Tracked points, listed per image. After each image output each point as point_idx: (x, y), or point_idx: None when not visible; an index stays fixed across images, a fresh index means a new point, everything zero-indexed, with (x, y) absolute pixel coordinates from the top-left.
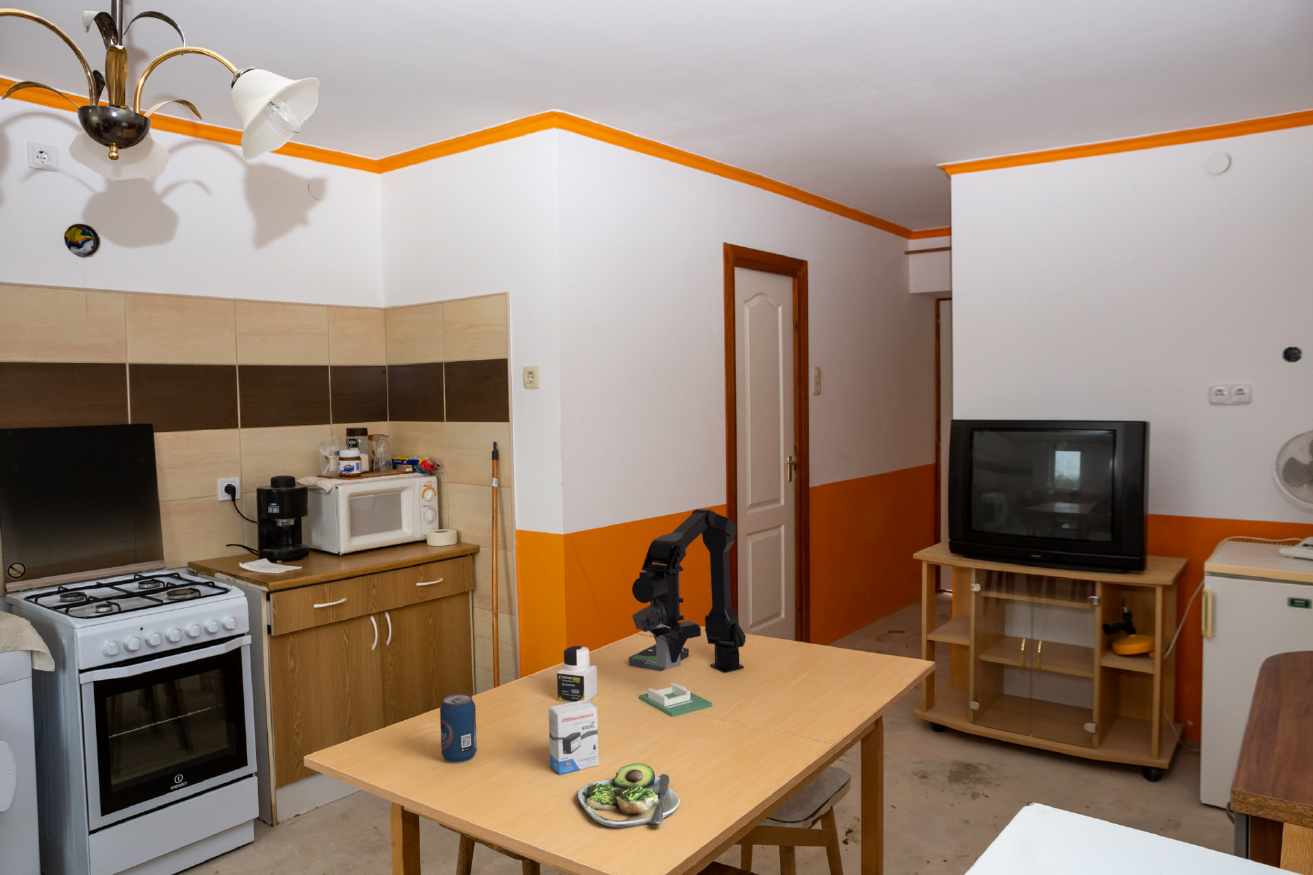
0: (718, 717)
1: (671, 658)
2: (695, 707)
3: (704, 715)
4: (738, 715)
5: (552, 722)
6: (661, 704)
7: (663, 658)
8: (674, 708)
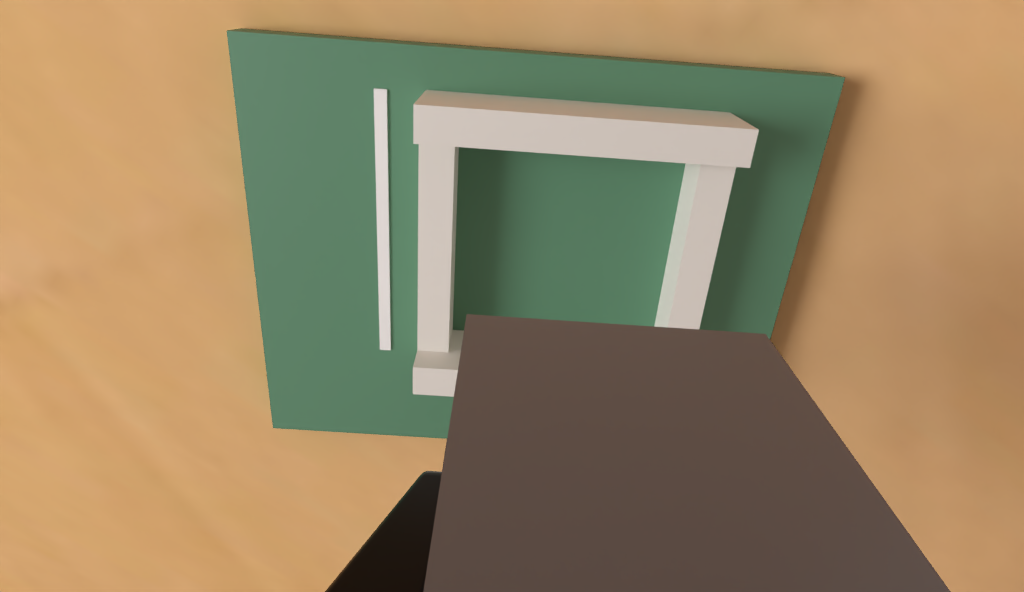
0: (52, 314)
1: (412, 515)
2: (258, 285)
3: (138, 263)
4: (33, 430)
5: None
6: (481, 93)
7: (552, 422)
8: (325, 129)
